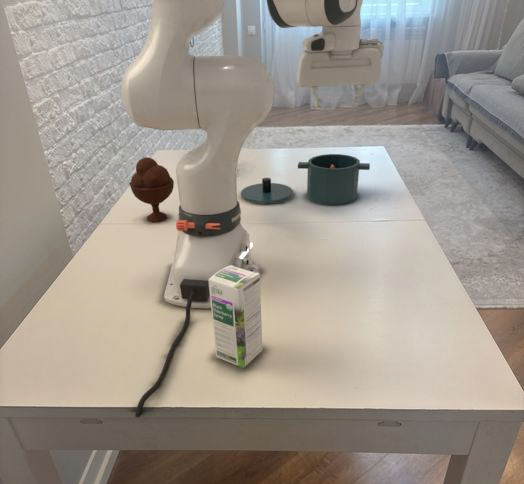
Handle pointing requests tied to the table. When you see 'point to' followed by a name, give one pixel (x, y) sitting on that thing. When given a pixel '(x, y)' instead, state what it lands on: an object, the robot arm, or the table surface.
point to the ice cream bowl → (152, 186)
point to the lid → (266, 192)
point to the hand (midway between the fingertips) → (336, 105)
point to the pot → (333, 178)
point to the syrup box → (236, 314)
